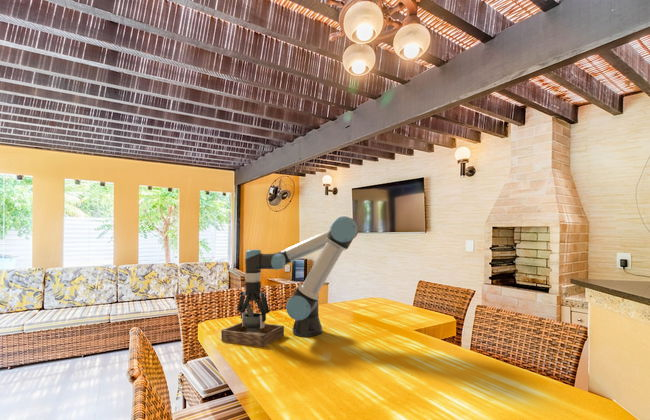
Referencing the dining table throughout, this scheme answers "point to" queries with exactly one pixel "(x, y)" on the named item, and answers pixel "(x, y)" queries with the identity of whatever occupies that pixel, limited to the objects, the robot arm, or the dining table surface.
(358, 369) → the dining table surface
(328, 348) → the dining table surface
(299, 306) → the robot arm
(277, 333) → the crate
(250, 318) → the mortar and pestle
